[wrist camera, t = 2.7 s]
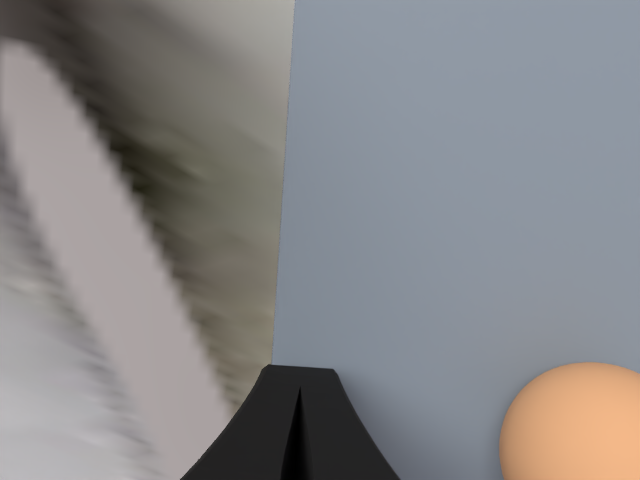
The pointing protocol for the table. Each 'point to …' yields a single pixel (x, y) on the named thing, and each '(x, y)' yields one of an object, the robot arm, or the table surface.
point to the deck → (458, 211)
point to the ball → (574, 425)
